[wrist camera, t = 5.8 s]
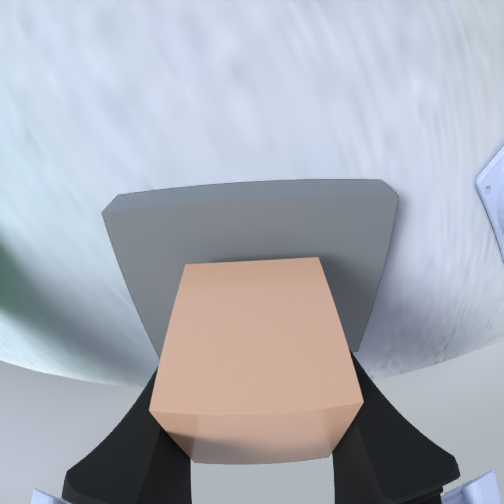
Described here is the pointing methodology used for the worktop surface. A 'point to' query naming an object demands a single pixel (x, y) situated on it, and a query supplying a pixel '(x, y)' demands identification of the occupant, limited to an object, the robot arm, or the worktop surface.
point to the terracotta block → (255, 364)
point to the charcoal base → (254, 239)
